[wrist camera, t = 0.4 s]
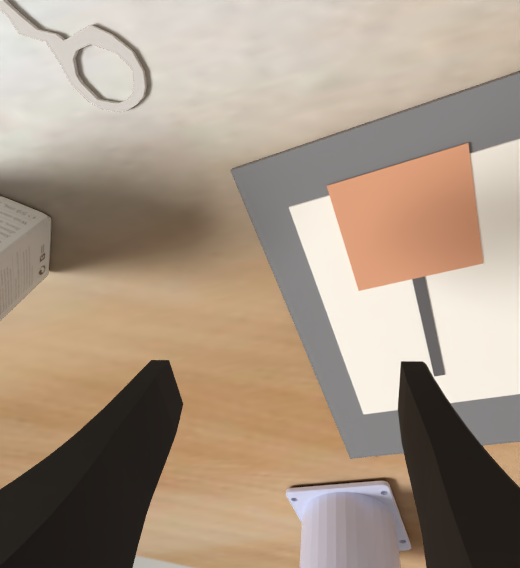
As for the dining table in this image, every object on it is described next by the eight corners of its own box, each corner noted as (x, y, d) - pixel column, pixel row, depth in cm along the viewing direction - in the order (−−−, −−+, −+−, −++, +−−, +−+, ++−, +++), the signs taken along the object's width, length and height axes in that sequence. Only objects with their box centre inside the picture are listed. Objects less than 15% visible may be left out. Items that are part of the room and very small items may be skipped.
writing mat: (575, 431, 26) (578, 438, 26) (350, 454, 31) (350, 460, 30) (574, 52, 16) (580, 53, 15) (232, 168, 20) (230, 172, 20)
